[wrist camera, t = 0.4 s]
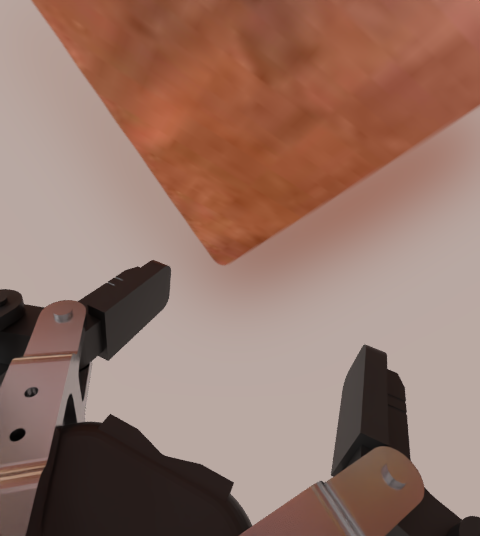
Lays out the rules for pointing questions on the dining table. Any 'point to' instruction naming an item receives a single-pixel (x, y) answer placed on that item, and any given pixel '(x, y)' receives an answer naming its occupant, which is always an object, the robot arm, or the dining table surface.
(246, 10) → the dining table surface
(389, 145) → the dining table surface
